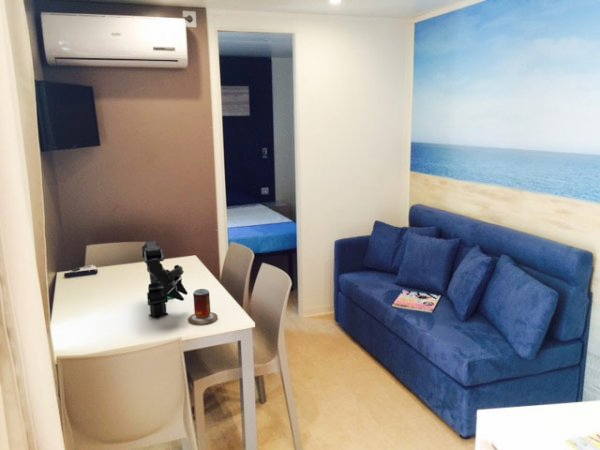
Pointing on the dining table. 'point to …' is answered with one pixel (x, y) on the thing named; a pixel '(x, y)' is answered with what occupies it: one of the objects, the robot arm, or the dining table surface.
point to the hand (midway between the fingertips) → (185, 297)
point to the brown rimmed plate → (205, 321)
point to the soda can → (201, 303)
